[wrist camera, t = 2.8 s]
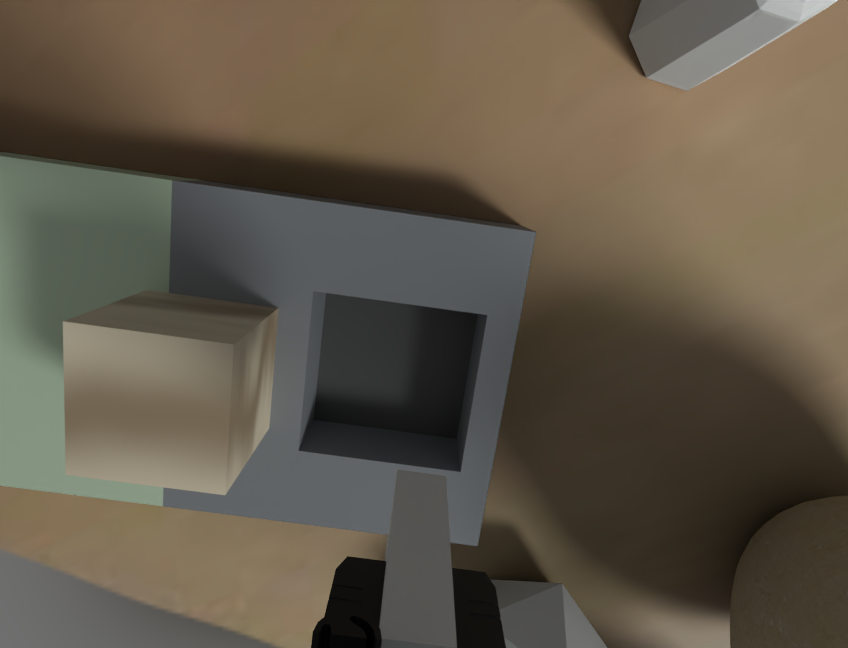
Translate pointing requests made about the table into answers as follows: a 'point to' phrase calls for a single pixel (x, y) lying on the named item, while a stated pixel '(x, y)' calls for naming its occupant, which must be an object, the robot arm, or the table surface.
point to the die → (542, 616)
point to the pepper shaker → (709, 34)
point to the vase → (794, 580)
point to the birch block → (167, 390)
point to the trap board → (295, 340)
